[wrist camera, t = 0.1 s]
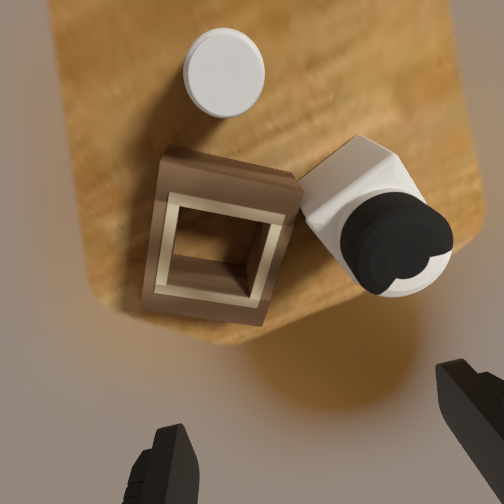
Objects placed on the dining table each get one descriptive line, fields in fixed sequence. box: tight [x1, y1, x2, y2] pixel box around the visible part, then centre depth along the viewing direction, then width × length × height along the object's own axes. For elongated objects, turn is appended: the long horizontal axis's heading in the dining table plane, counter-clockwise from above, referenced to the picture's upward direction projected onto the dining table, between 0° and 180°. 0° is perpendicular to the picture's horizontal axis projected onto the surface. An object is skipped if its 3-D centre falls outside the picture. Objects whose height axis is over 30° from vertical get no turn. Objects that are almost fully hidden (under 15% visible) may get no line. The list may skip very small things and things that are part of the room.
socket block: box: [140, 145, 304, 327], centre depth 30 cm, size 12×10×5 cm
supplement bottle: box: [183, 28, 265, 118], centre depth 23 cm, size 5×5×8 cm
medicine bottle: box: [298, 135, 453, 297], centre depth 27 cm, size 7×7×12 cm
